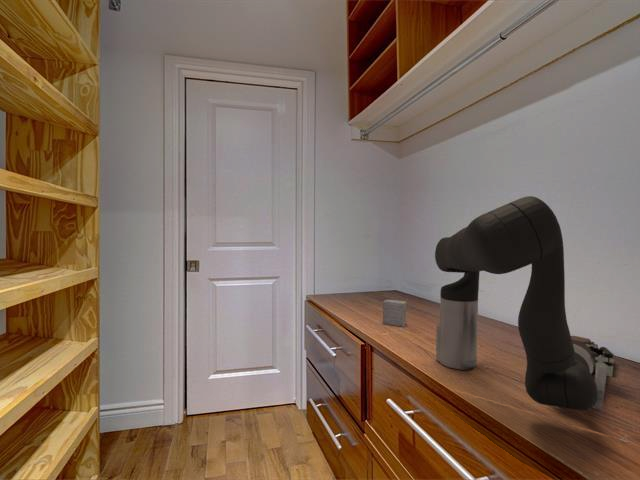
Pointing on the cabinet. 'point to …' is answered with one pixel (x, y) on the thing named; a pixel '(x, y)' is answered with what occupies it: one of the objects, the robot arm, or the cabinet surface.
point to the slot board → (600, 383)
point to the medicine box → (394, 312)
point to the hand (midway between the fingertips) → (579, 343)
